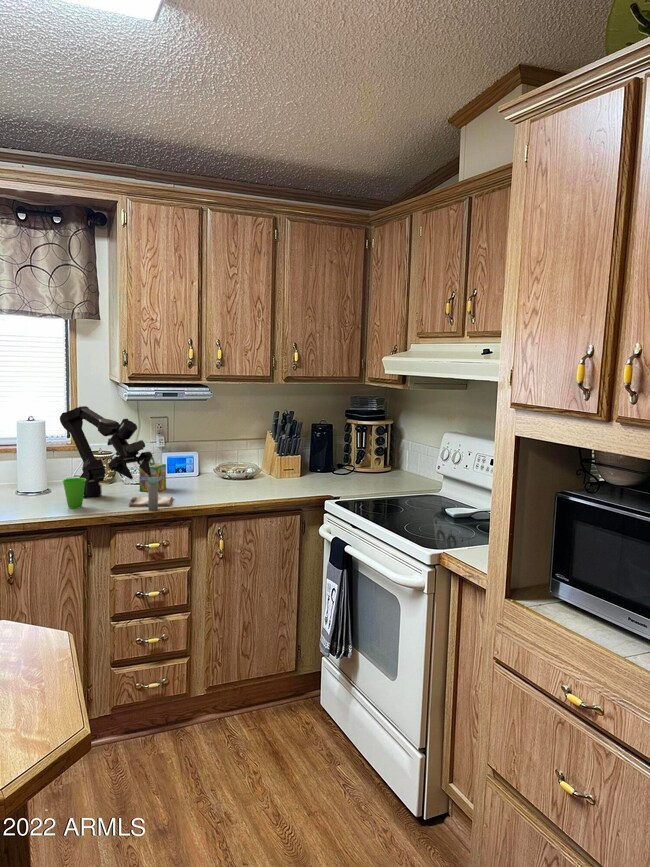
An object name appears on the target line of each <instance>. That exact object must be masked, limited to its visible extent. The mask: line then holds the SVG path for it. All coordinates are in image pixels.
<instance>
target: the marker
mask: <svg viewBox="0 0 650 867" xmlns="http://www.w3.org/2000/svg"><path fill="white" fill-rule="evenodd" d="M147 497H148V498H149V506H148V511H150V512H156V511H158V510H159V506H158V497H159V492H158V477H148V496H147Z"/></svg>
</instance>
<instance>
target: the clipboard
mask: <svg viewBox="0 0 650 867" xmlns="http://www.w3.org/2000/svg"><path fill="white" fill-rule="evenodd" d="M172 502H173V496H158V507H171V505H172ZM134 506H135V507H142V508H143V507H144V506H145V507H146V508H149V498H148V496H141V497H140V496H139V497H138V496H137V497H135V496H133V497H131V499H130V503H129V506H128V507H129V508H131V507H133V508H135V507H134Z"/></svg>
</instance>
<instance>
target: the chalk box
mask: <svg viewBox="0 0 650 867" xmlns="http://www.w3.org/2000/svg"><path fill="white" fill-rule="evenodd" d="M151 461H152V462H151ZM149 467H150V472H151V475H150V476H149V475H147V474H146V473H145V472H144V471H143V470H142V469H141V468H140V467H139V466H138V472H139V474H138V475H139V476H138V478H139V492H148V477H158V493H159V492H161V491H164V490H166V489H167V464H166V463H158V462H157V463H155V460H154V456H152V458H151V459H150V461H149Z"/></svg>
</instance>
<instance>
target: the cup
mask: <svg viewBox="0 0 650 867" xmlns="http://www.w3.org/2000/svg"><path fill="white" fill-rule="evenodd" d="M61 482H62V483H63V488H64V492H65V497H66V503H67V507H68V508H69V509H80V508H82V507H81V506H83V501H84V498H83V496H84V489H85V482H86V479H85V478H80V477H68V478H64V479H62V481H61ZM79 507H80V508H79Z"/></svg>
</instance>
